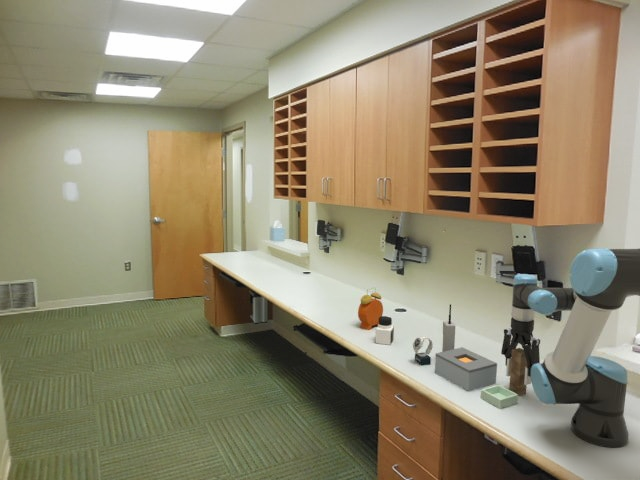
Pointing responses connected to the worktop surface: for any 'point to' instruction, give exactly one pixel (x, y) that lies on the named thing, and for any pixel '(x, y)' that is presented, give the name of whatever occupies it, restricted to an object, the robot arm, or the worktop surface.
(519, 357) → the brown wooden block
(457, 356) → the grey box with hole
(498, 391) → the green square tray
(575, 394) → the robot arm
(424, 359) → the watch
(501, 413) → the worktop surface
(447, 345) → the grey rectangular bar
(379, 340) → the medicine bottle
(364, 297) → the alarm clock
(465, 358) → the button
